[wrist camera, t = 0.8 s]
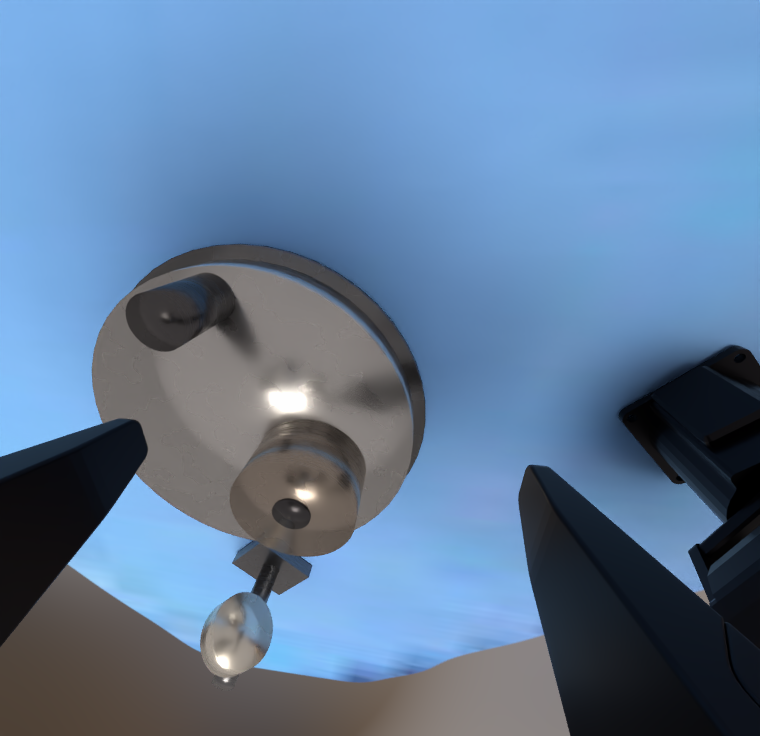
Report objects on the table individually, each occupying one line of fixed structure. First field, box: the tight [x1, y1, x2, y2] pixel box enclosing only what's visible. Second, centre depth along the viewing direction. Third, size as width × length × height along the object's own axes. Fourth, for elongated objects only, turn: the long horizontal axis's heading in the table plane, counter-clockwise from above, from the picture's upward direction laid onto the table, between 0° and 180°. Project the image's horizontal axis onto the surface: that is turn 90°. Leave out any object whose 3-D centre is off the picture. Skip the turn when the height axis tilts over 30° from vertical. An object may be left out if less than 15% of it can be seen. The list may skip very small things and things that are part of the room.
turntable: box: [92, 259, 414, 541], centre depth 20 cm, size 19×19×6 cm
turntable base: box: [133, 244, 425, 475], centre depth 23 cm, size 20×20×1 cm
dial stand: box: [200, 541, 312, 690], centre depth 25 cm, size 6×5×9 cm
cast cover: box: [229, 419, 366, 557], centre depth 19 cm, size 7×7×4 cm
